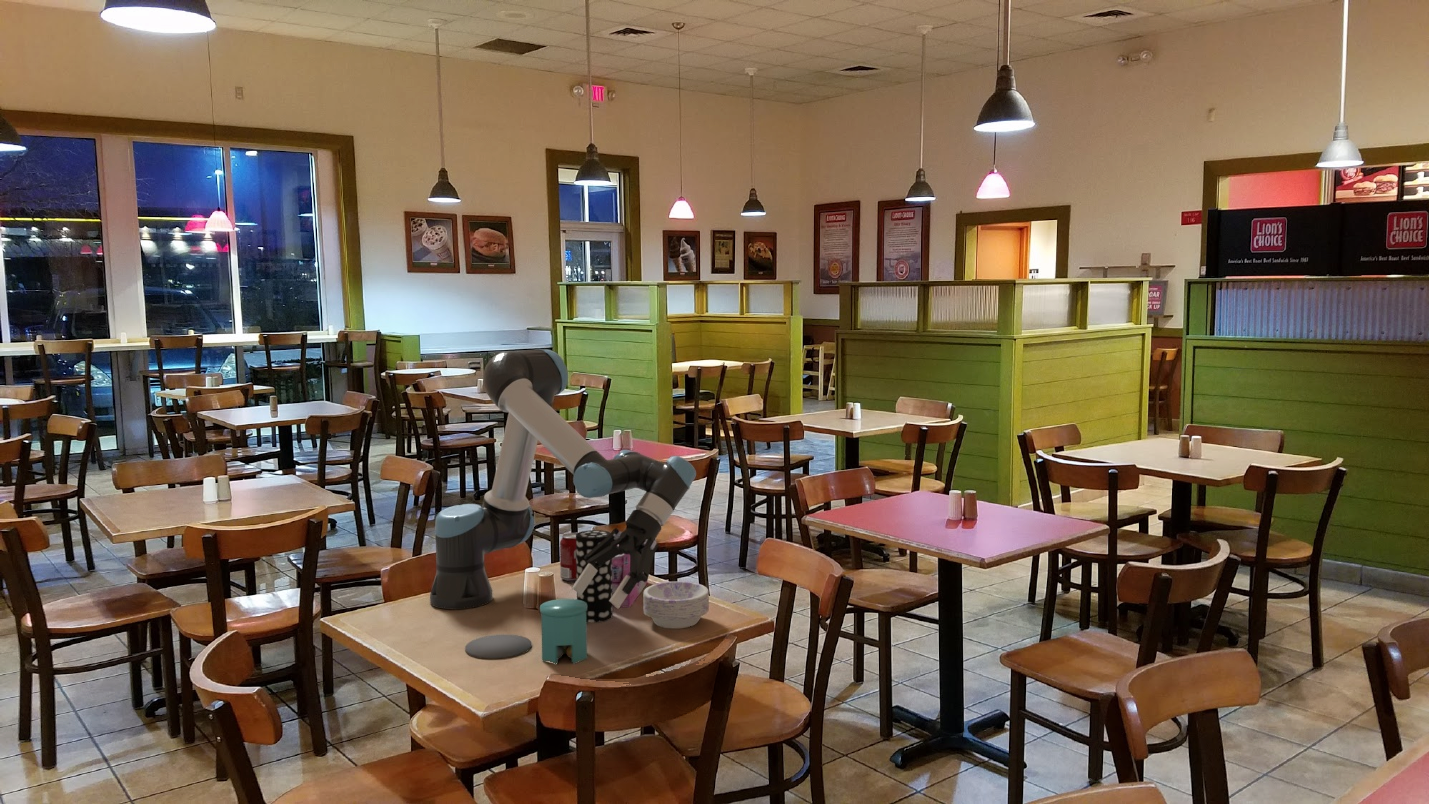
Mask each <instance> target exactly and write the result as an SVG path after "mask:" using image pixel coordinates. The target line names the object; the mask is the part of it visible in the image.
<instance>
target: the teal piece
mask: <svg viewBox="0 0 1429 804" xmlns="http://www.w3.org/2000/svg"><path fill="white" fill-rule="evenodd" d="M586 611H587V603H586V602H584V601H581V600H577V598H560V599H552V600H548V601H545V602H543V603H542V604H540V606H539V613H540V615H541V620H540V621H541V661H542V660H543V661H542V662H544V661H550V662H553V663H555V664H556V663H558V662H559V661H558V660H559V659H558V653H557V646H562V645H572V658H571V663H572V662H573V663H574V664H577V663H579V662H581V661H584V660H586V659H588V644H587V643H588V642H587V641H588V640H587V639H588V637H587V635H588V634H587V633H588V630H587V622H586ZM578 661H579V662H578ZM576 662H577V663H576ZM573 663H572V664H573ZM555 664H554V665H555ZM556 665H557V664H556Z"/></svg>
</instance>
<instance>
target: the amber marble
mask: <svg viewBox="0 0 1429 804" xmlns="http://www.w3.org/2000/svg"><path fill="white" fill-rule="evenodd" d="M565 655H566V656H567V657H568V658H571V659H572V645H568V646H567V648H566V654H565Z"/></svg>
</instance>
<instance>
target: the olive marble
mask: <svg viewBox="0 0 1429 804" xmlns="http://www.w3.org/2000/svg"><path fill="white" fill-rule="evenodd" d="M567 646H568V645H562V646H561V647H562V649H563V654H562V655H567V654H566V648H567Z"/></svg>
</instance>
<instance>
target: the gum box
mask: <svg viewBox="0 0 1429 804" xmlns="http://www.w3.org/2000/svg"><path fill="white" fill-rule="evenodd" d="M617 546H619V544H618V545H617ZM629 572H630V555H629V554H624V553H623V554H622V555H617V556H615V557H614V558H612V595H613V594H614V592H615V591H616V590H617V588H618V587H619V585H620V584H621V582H622V581H623V579H624V578H625V576H626V575H627V576H629V575H628V573H629ZM643 573H644V572H643ZM629 577H630V576H629ZM647 584H648V580H647V581H646V582H643V581H640V582H639V583H637V584H636V585H635V587H634V588H633V590H632V591H631V593H630V594H629V595H627V597H626V598H625V600H624V601H623V603H622V604H621V606H620V607H621V608H630V607H631V606H632V605H633V603H634V602H635V601H636V599H637V598H638V596H639V595H640V594H641V593H642V591H643V589H645V586H647ZM614 607H615V606H614V605H613V604H612V608H614ZM620 607H619V608H620ZM615 608H616V607H615Z"/></svg>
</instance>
